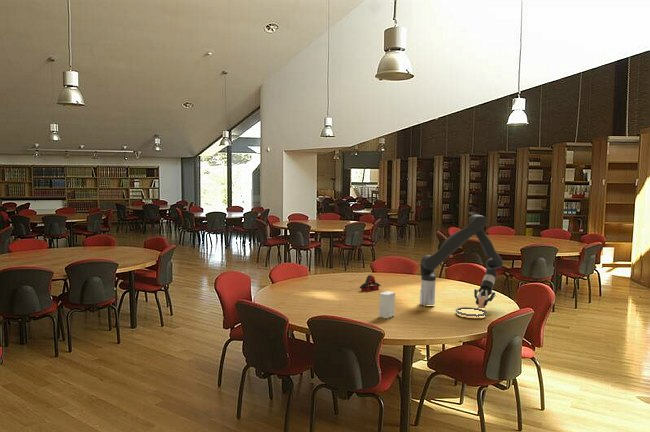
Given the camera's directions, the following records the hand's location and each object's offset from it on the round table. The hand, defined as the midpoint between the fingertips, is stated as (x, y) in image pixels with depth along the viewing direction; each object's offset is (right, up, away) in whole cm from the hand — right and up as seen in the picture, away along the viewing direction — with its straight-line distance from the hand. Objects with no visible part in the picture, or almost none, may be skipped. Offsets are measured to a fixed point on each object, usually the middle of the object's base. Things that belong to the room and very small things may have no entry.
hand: (480, 304), depth 327 cm
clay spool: (+1, -4, +2) cm, 5 cm away
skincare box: (-62, -4, -18) cm, 65 cm away
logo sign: (-66, +2, +52) cm, 84 cm away
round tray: (-9, -5, -10) cm, 14 cm away
